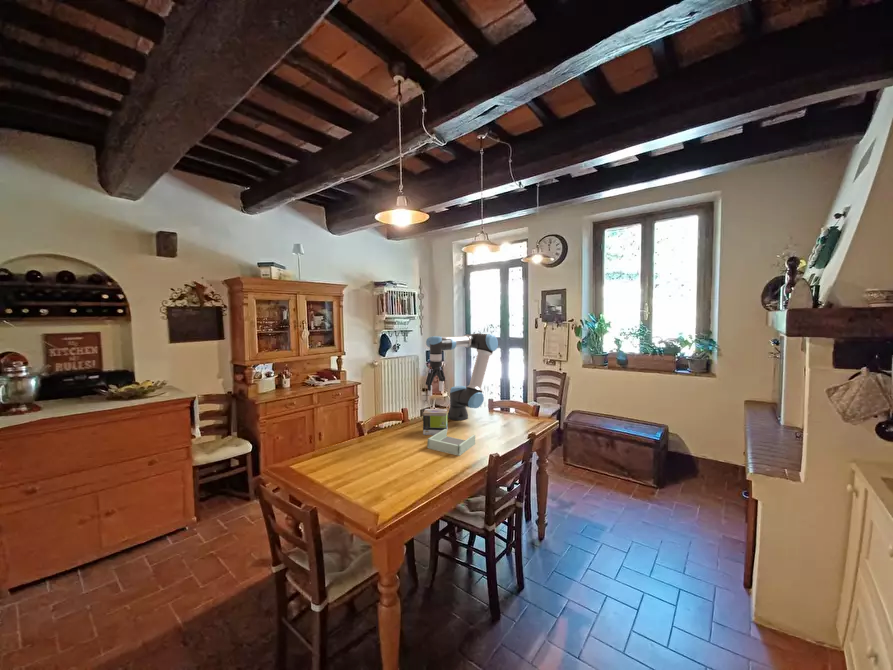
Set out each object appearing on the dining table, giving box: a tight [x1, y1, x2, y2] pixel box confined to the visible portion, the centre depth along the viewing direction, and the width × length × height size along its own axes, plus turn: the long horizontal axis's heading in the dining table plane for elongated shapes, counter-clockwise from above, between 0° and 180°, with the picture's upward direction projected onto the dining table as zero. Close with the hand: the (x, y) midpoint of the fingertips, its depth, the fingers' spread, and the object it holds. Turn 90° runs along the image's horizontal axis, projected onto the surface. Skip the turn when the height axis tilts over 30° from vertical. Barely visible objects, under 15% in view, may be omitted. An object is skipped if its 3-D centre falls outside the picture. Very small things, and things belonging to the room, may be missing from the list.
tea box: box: [422, 408, 449, 436], centre depth 236 cm, size 15×10×15 cm, turn 84°
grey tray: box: [427, 429, 476, 457], centre depth 214 cm, size 20×21×6 cm
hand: (435, 393), depth 234 cm, fingers open, 13 cm apart
